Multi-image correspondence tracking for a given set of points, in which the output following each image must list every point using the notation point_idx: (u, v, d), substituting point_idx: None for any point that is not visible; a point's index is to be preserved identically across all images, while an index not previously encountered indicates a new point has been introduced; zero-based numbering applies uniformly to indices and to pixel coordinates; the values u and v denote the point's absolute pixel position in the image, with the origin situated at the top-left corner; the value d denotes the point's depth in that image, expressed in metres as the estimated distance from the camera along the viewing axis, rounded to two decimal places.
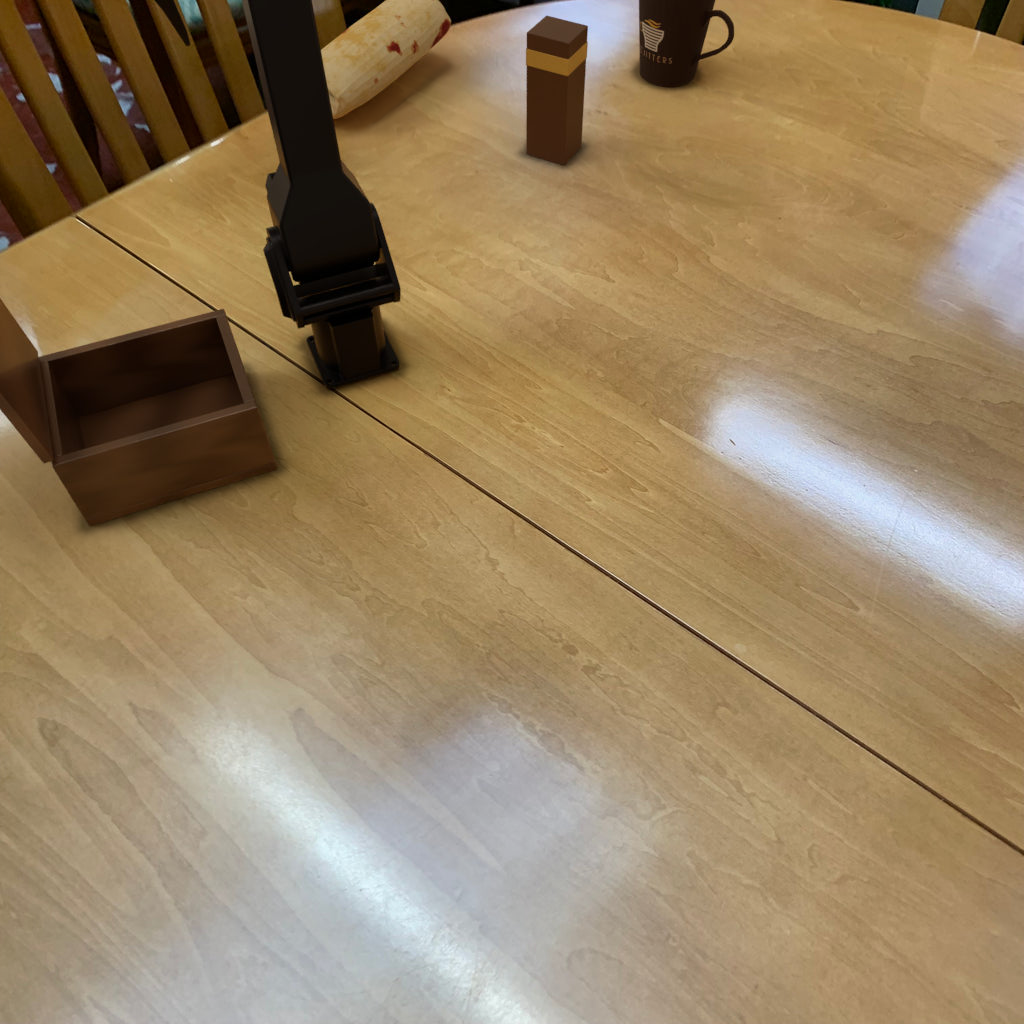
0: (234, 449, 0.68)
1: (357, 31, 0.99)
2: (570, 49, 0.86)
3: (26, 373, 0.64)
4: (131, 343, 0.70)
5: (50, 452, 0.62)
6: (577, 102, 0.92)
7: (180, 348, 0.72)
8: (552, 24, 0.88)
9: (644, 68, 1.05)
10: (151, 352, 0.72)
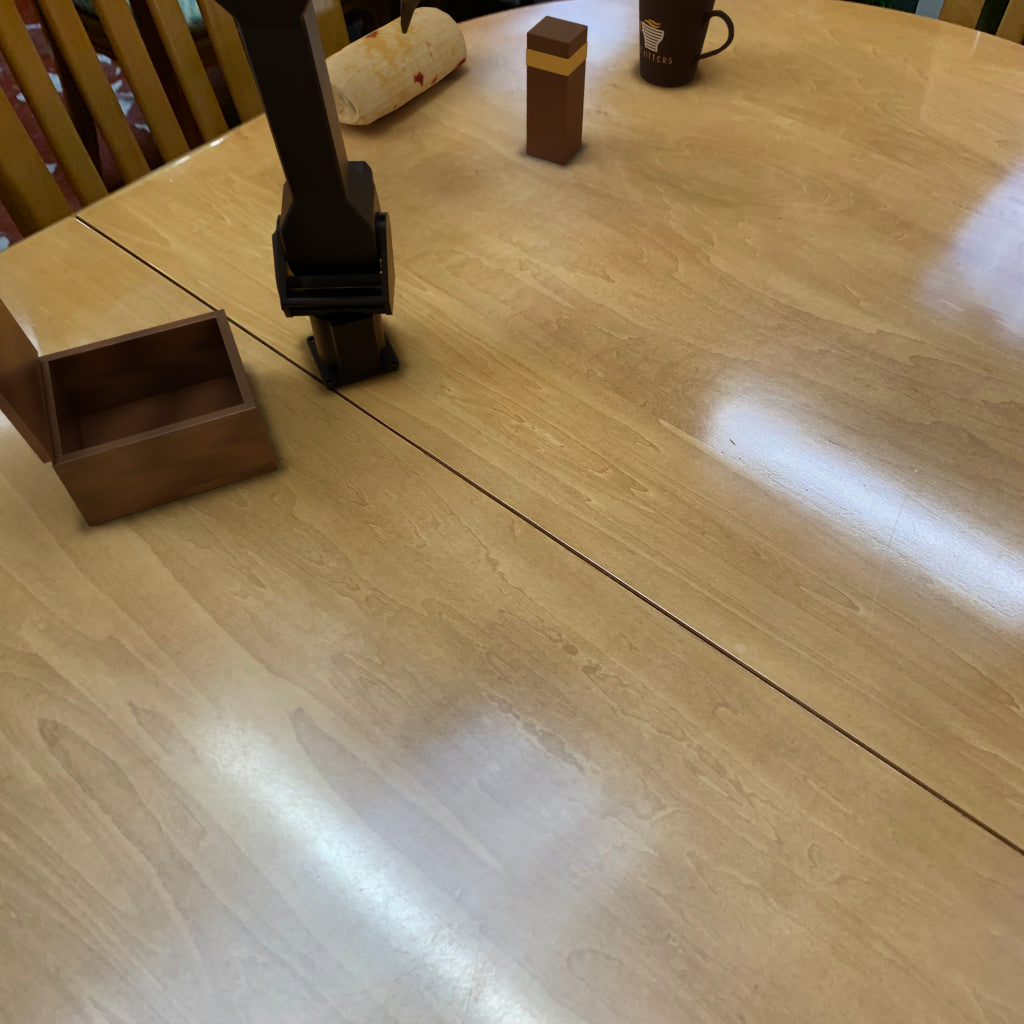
0: (234, 449, 0.68)
1: (388, 44, 0.99)
2: (570, 49, 0.86)
3: (26, 373, 0.64)
4: (131, 343, 0.70)
5: (50, 452, 0.62)
6: (577, 102, 0.92)
7: (180, 348, 0.72)
8: (552, 24, 0.88)
9: (644, 68, 1.05)
10: (151, 352, 0.72)
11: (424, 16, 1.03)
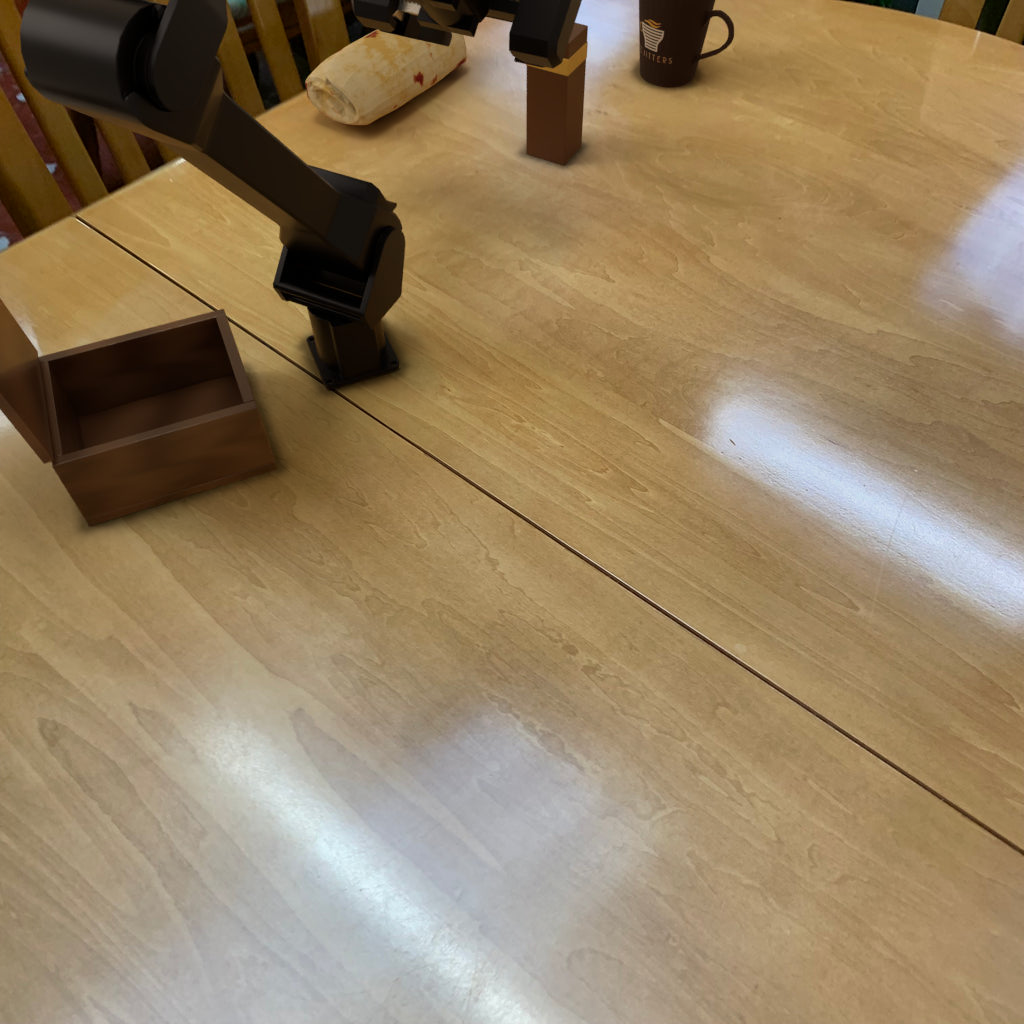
0: (234, 449, 0.68)
1: (388, 44, 0.99)
2: (570, 49, 0.86)
3: (26, 373, 0.64)
4: (131, 343, 0.70)
5: (50, 452, 0.62)
6: (577, 102, 0.92)
7: (180, 348, 0.72)
8: None
9: (644, 68, 1.05)
10: (151, 352, 0.72)
11: None
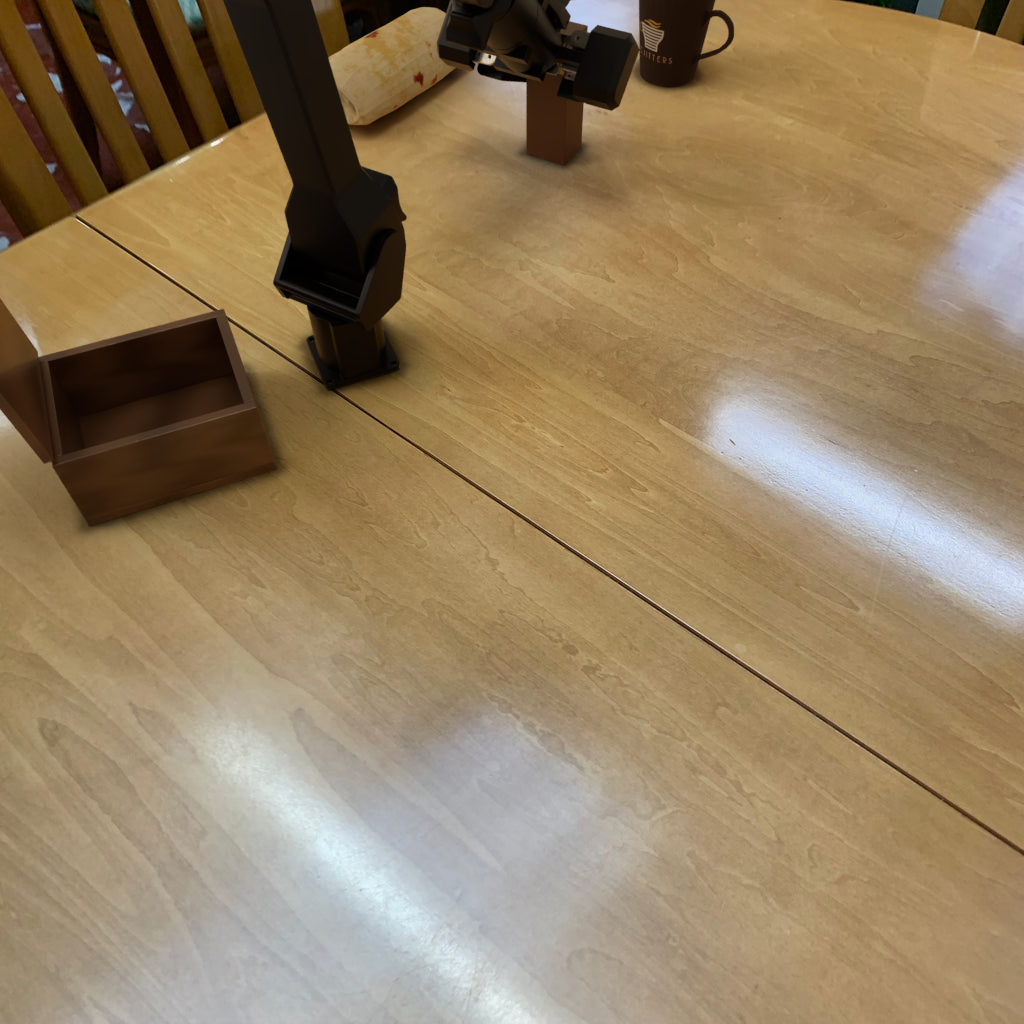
0: (234, 449, 0.68)
1: (388, 44, 0.99)
2: None
3: (26, 373, 0.64)
4: (131, 343, 0.70)
5: (50, 452, 0.62)
6: (576, 102, 0.92)
7: (180, 348, 0.72)
8: None
9: (644, 68, 1.05)
10: (151, 352, 0.72)
11: (424, 16, 1.03)
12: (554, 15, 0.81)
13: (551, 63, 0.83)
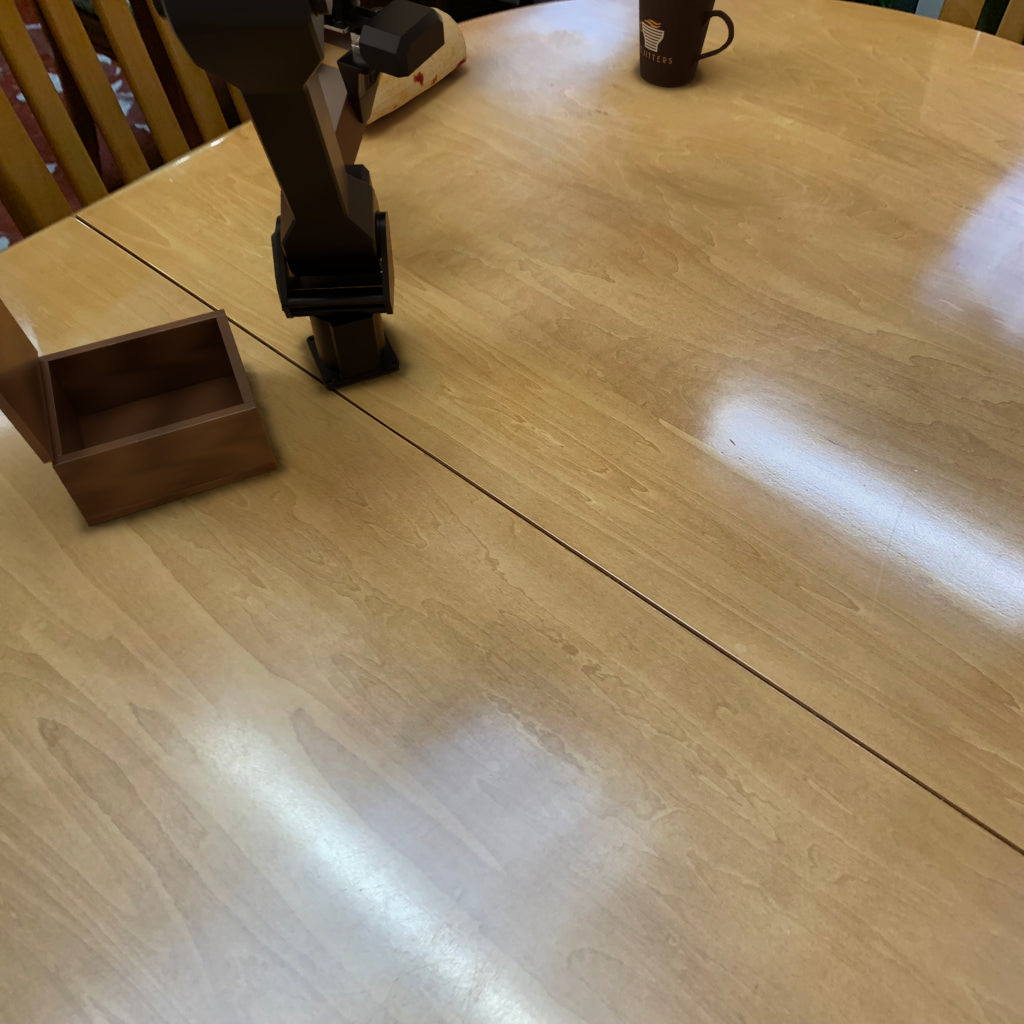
0: (234, 449, 0.68)
1: None
2: None
3: (26, 373, 0.64)
4: (131, 343, 0.70)
5: (50, 452, 0.62)
6: (354, 127, 0.78)
7: (180, 348, 0.72)
8: None
9: (644, 68, 1.05)
10: (151, 352, 0.72)
11: None
12: None
13: (341, 14, 0.70)
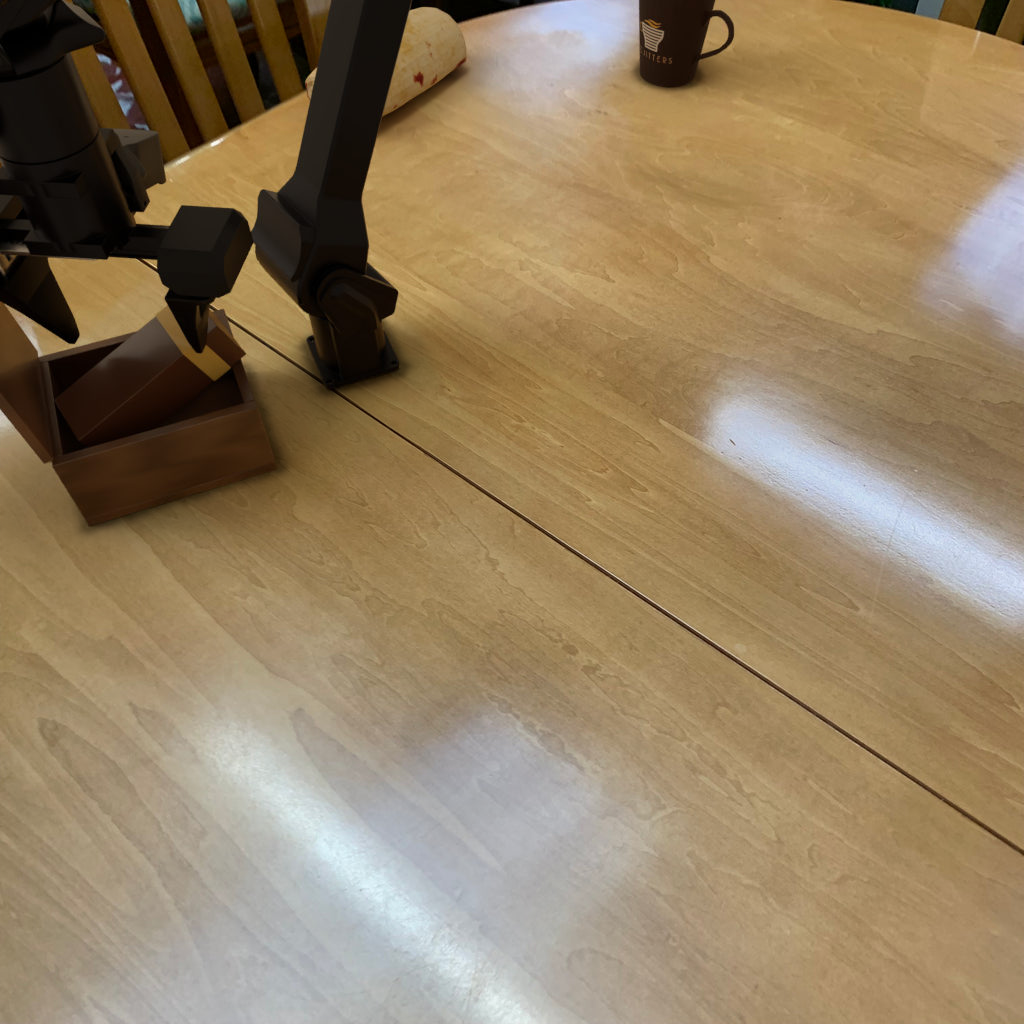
0: (234, 449, 0.68)
1: None
2: (212, 335, 0.65)
3: (26, 373, 0.64)
4: None
5: (50, 452, 0.62)
6: (161, 403, 0.66)
7: None
8: (217, 319, 0.68)
9: (644, 68, 1.05)
10: None
11: (424, 16, 1.03)
12: (125, 178, 0.56)
13: (121, 241, 0.56)
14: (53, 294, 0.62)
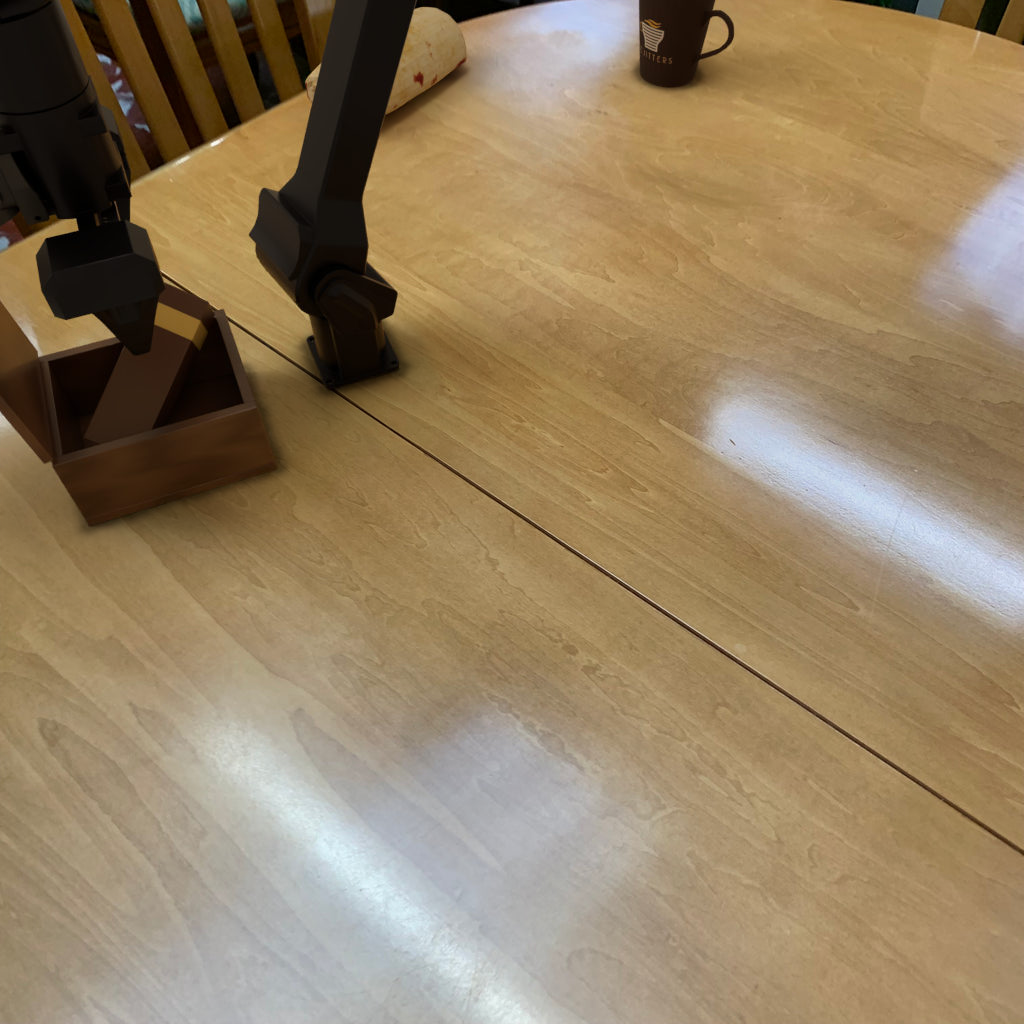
0: (234, 449, 0.68)
1: None
2: None
3: (25, 373, 0.63)
4: None
5: (50, 452, 0.62)
6: (148, 377, 0.66)
7: None
8: None
9: (644, 68, 1.05)
10: None
11: (424, 16, 1.03)
12: None
13: None
14: None
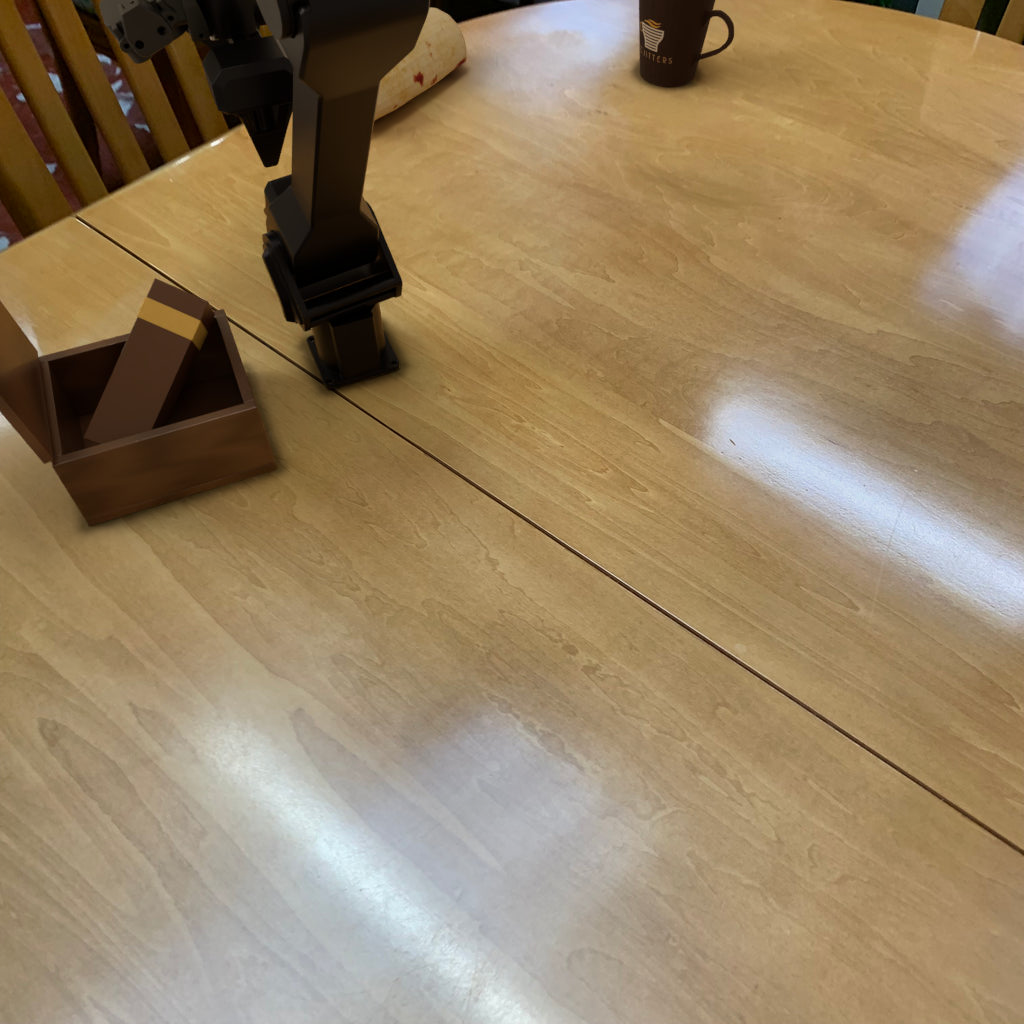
0: (234, 449, 0.68)
1: None
2: (156, 289, 0.66)
3: (25, 373, 0.63)
4: None
5: (50, 452, 0.62)
6: (148, 377, 0.66)
7: None
8: None
9: (644, 68, 1.05)
10: None
11: None
12: None
13: None
14: None
